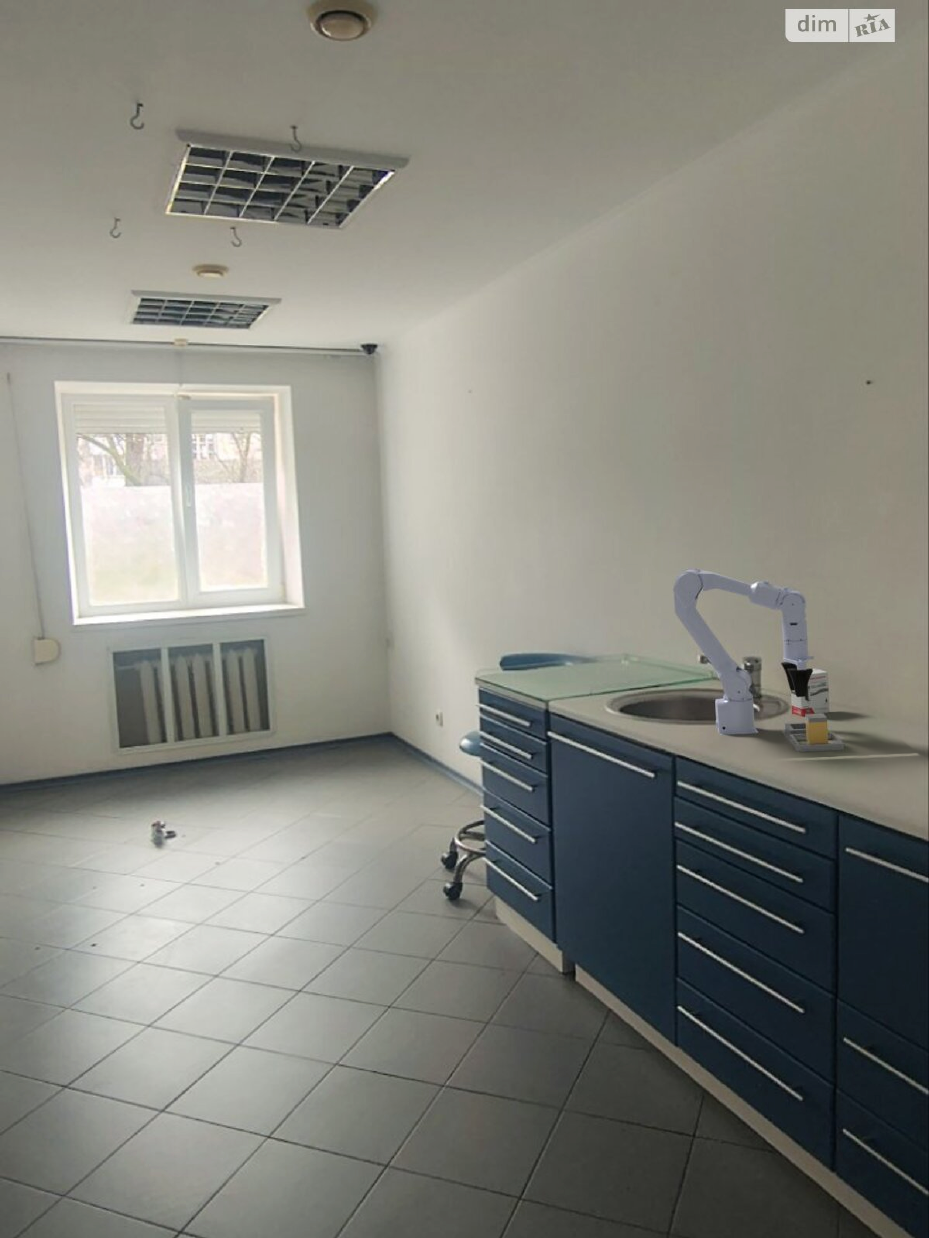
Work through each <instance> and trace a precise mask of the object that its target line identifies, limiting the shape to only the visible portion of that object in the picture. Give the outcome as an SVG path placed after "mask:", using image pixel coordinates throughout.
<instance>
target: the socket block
mask: <svg viewBox="0 0 929 1238" xmlns="http://www.w3.org/2000/svg"><path fill="white" fill-rule="evenodd" d="M780 732H781V733H782V735H783V736H784V738H785V739H786V740H790V734H806V721H805V722H787V723H784V729H783V728H782V729H780Z"/></svg>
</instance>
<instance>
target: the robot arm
mask: <svg viewBox="0 0 929 1238" xmlns="http://www.w3.org/2000/svg"><path fill="white" fill-rule="evenodd" d="M715 589H717V590H721V591H725V592H727V593H728V592H729V593H732V594H737V595H741V596H745V597H747V598H748V599H749V601H750V602H751V604H753V605H758V606H760V607H763V608H768V609H770V610H775V611H778V610H780V611H781V612H782V622H781V629H782V649H783V656H782V661H783V662H781V663H780V665H781V666H782V669H783V670H784V673H785V675H786V679H787V683H788V686H789V689H790V691H791V690H795V694H796V697H806V693H807V687H808V682H809V679H810V676H811V674H812V672H813V669H814V668H807V663H808V661H809V660H814V655H811V654H810V655H809V648H808V647H809V643H808V625H807V623H808V622H807V619H806V617H807V614H806V612H805V610H806V607H807V604H806V602H807V601H806V597H805V595H804V594H803V593H802V592H801V591H798V590H797V589H795V588H793V589H792V588H791V589H789V586H784V587H781V586H778V585H775V584H770V581H769V580H765V579H764V580H763V581H761V580H759V581H756V582H754V583H748V582H745V581H742V580H739V579H736V578H733V577H731V576H727V575H724V574H720V573H717V572H714V571H709V570H703V569H702V570H700V569H697V568H694V567H693V568H688V569H686V570H684V571H683V572H681V573H680V574H678V576H677V578H676V579H675V582H674V585H673V588H672V590H673V600H674V601H673V602H674V603H673V604H674V613H675V615H676V616H677V618H678V619H679V621H680V622H681V624H682V626H684V628H685V629H686V631H687V632H688V633H689V635H690V637H691V638H693V640H694V642H695V643H696V644H697V646H698V648H699V649H700V650H701V651H702V653H703V654H704V656H705V658H706V659H707V660H708V661H709V663H710V664H711V666H712V667H713V668H714V670H715V672H716V675H717V678H718V679H719V681H720V682H721V685H722V691H723V693H724V694H723V698H716V699H715V701H714V702H715V704H714V705H715V719H716V720H715V727H716V729H717V732H718V734H719V735H721V736H722V735H725V736H726V735H740V734H741V735H742V734H743V735H744V734H746V735H747V734H758V733H759V731H758V730H757V727H756V725H755V710H754V709H755V708H754V695H753V693H751V691H750V687H751V685H752V677H751V674H750V673H749V671H747V670H746V669H743V668H742V667H741V666H740V665H739V664H738V662H736V660H734V659H733V658H732V657H731V655H729V653H728V652H727V650H726V648H725V647H724V646H723V645H722V643H721V642H720V640H719V639H718V638H717V636H716V635H715V634H714V632H713V631H712V629H711V628H710V626H709V625H708V624H707V622H706V620H704V618H703V617H702V615H701V614H700V612H699V611H698V609H697V604H698V599H699V595H700V594H701V592H706V591H711V590H715ZM759 734H760V733H759Z"/></svg>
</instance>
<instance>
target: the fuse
mask: <svg viewBox="0 0 929 1238" xmlns="http://www.w3.org/2000/svg"><path fill="white" fill-rule="evenodd" d="M804 717H805V722H806V738H807V740H806V745H809V744H829V739H828V733H829V732H828V718H827V716H826V715H825V713H821V714H805V716H804Z"/></svg>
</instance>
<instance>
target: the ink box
mask: <svg viewBox="0 0 929 1238" xmlns="http://www.w3.org/2000/svg"><path fill="white" fill-rule="evenodd" d="M812 669H813V672H812V674H811V676H810V679H809V682H808V687H807V693H806V697H796V694H795V690H790V697H791V698H790V700H791V701H790V703H791V714H792V715H796V716H800V717H805V714H822V713H823V714H826V713H827V714H828V713H830V691H829V690H830V689H829V687H830V685H829V672H828V671H825V670H822V669H819V668H812Z"/></svg>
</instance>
